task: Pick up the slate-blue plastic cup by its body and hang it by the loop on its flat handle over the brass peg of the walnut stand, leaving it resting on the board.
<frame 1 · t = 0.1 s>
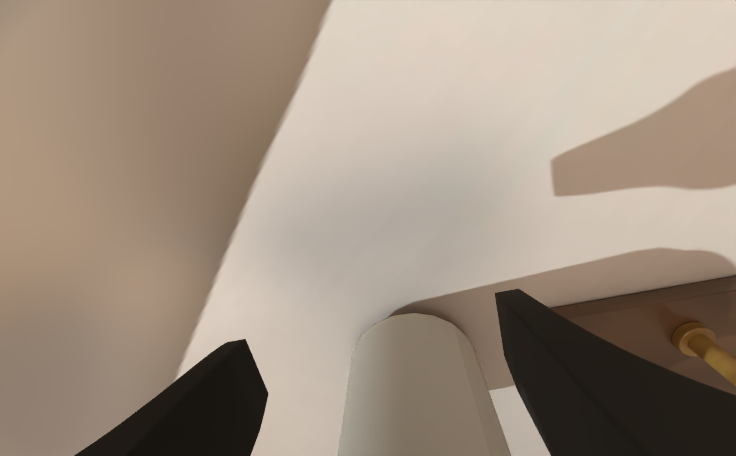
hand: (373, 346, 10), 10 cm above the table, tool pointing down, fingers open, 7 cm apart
peg stand: (671, 372, 22), on the table
can: (412, 354, 22), on the table
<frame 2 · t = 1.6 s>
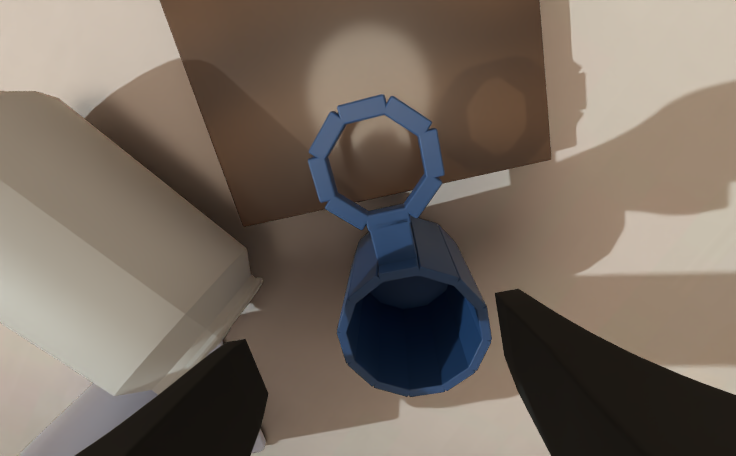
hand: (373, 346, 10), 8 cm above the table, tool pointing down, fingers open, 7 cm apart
cup: (405, 264, 18), on the table
peg stand: (358, 54, 15), on the table
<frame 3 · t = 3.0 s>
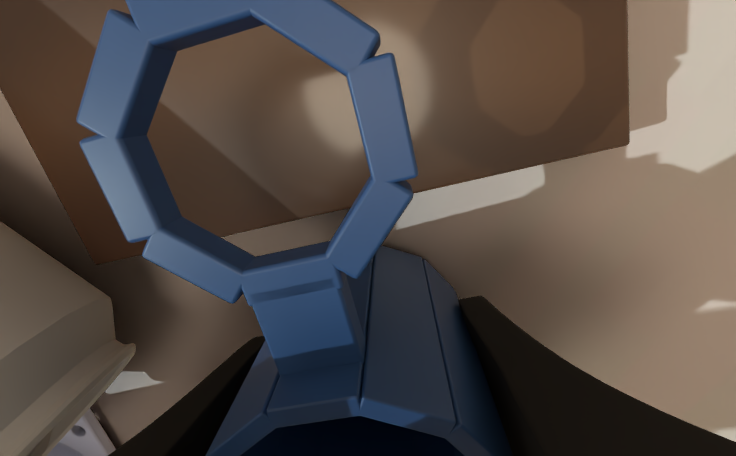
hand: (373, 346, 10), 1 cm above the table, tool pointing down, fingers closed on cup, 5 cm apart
cup: (373, 318, 11), on the table, touching gripper
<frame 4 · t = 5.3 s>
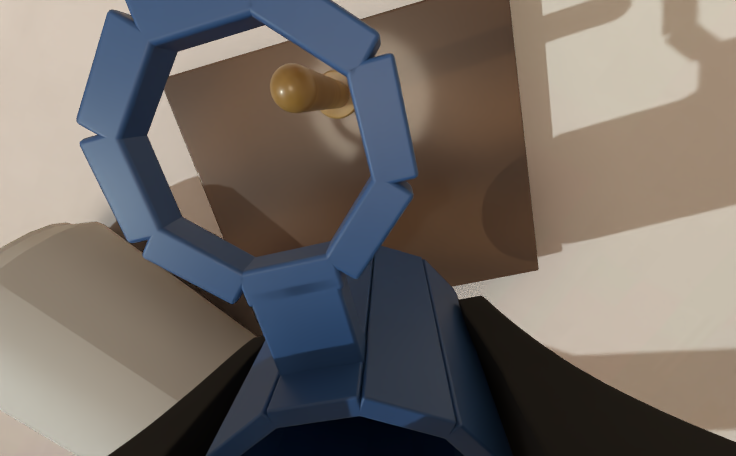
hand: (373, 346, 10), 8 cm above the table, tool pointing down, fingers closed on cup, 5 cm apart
cup: (373, 318, 11), point 7 cm above the table, touching gripper
peg stand: (362, 175, 17), on the table
can: (7, 272, 15), point 4 cm above the table
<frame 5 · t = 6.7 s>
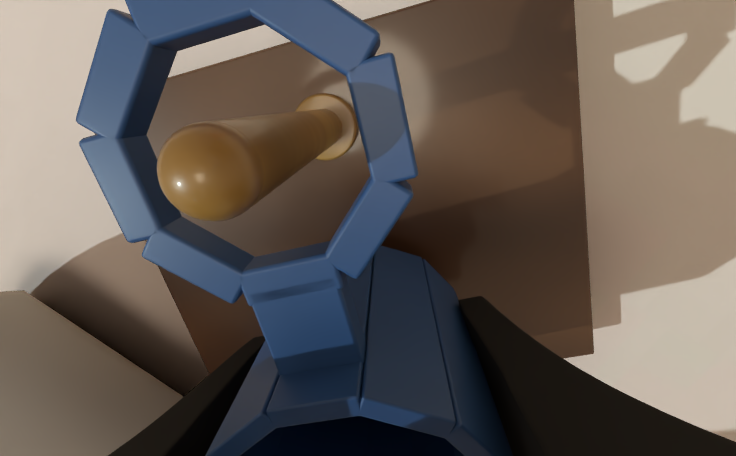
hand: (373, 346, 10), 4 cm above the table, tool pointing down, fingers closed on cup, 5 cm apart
cup: (373, 318, 11), point 2 cm above the table, touching gripper
peg stand: (360, 226, 13), on the table
when the fingers open (3 cm above the table, at t = 7.5 s): cup stays where it is, resting on peg stand.
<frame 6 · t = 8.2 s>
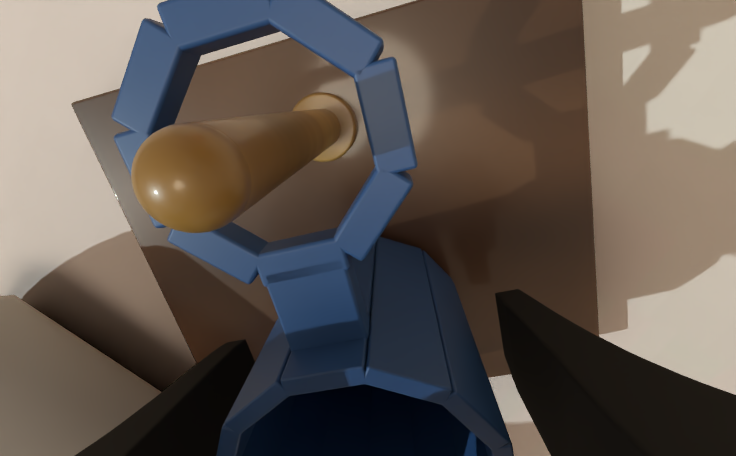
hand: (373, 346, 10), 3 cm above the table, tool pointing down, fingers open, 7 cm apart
cup: (375, 308, 12), point 1 cm above the table, touching peg stand
peg stand: (360, 230, 12), on the table
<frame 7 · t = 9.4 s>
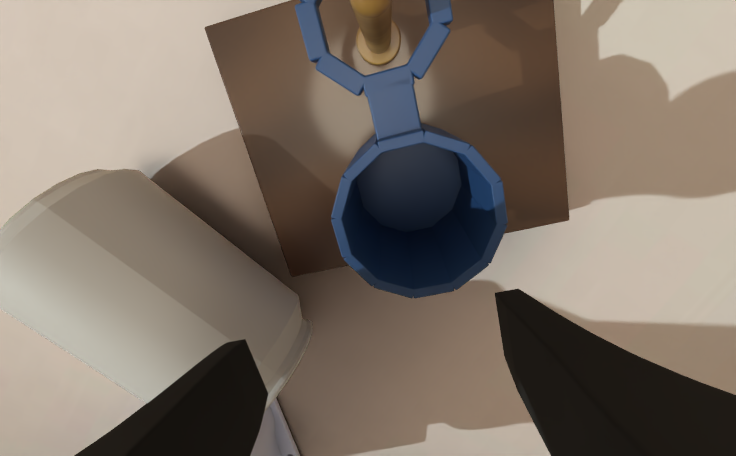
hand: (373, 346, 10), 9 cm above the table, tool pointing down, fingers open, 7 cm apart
cup: (408, 181, 17), point 1 cm above the table, touching peg stand
peg stand: (396, 127, 17), on the table
can: (54, 217, 16), point 4 cm above the table
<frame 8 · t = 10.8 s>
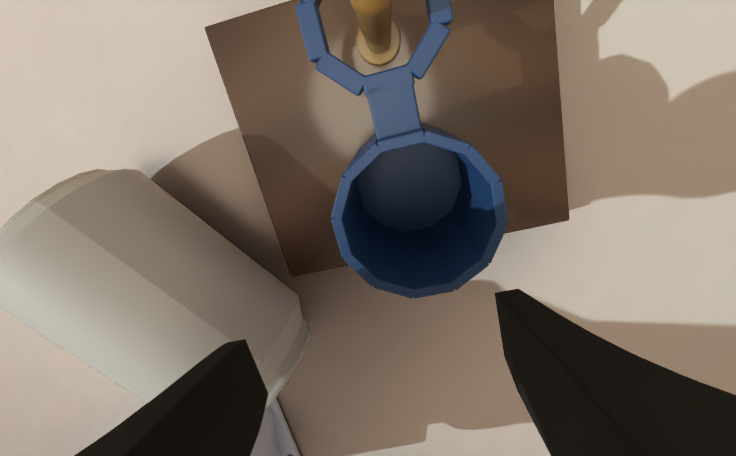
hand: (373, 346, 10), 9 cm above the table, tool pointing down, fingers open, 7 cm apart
cup: (408, 181, 17), point 1 cm above the table, touching peg stand
peg stand: (396, 127, 17), on the table
can: (54, 217, 16), point 4 cm above the table
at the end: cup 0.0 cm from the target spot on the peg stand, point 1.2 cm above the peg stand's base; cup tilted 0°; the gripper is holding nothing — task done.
